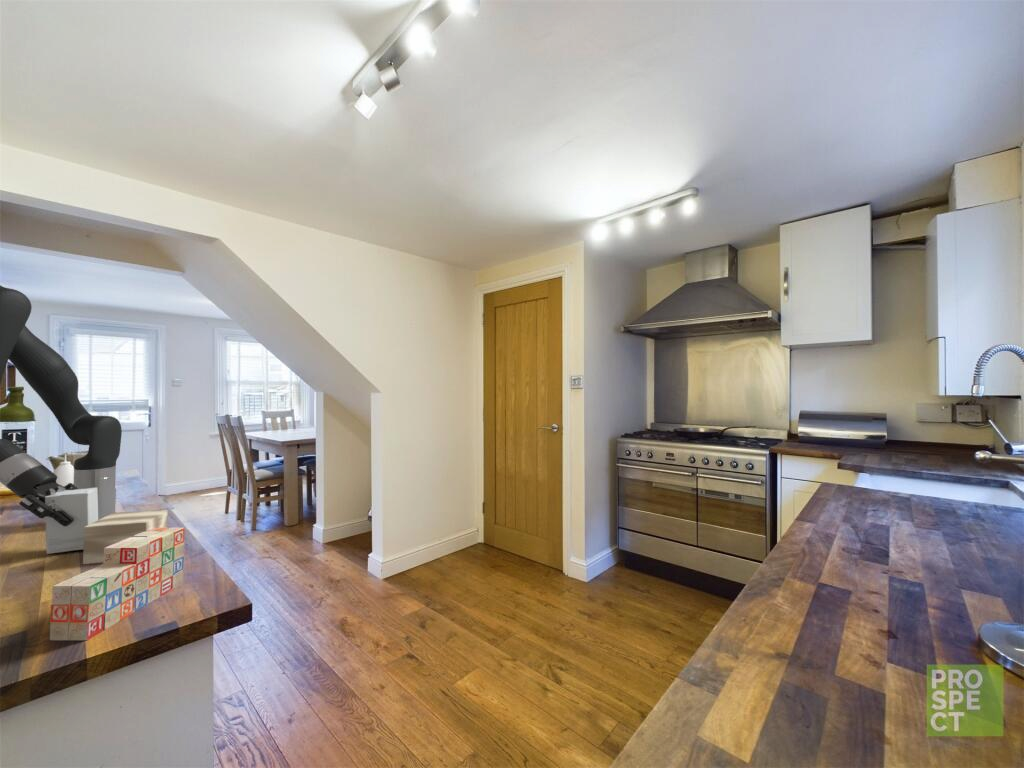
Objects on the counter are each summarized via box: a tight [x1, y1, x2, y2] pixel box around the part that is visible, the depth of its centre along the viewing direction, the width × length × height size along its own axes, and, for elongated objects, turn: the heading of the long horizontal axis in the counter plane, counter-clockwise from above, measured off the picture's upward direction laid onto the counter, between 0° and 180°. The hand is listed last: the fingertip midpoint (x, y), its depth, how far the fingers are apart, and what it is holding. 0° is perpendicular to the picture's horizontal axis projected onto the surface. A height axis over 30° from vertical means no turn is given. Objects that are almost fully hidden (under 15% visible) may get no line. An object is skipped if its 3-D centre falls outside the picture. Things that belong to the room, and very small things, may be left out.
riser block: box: [82, 508, 169, 565], centre depth 107 cm, size 12×12×9 cm
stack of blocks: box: [49, 527, 186, 641], centre depth 80 cm, size 21×6×12 cm, turn 2°
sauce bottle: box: [52, 454, 74, 486], centre depth 146 cm, size 8×8×18 cm
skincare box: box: [45, 488, 98, 555], centre depth 107 cm, size 8×6×15 cm
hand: (80, 519), depth 107 cm, fingers closed on skincare box, 6 cm apart
